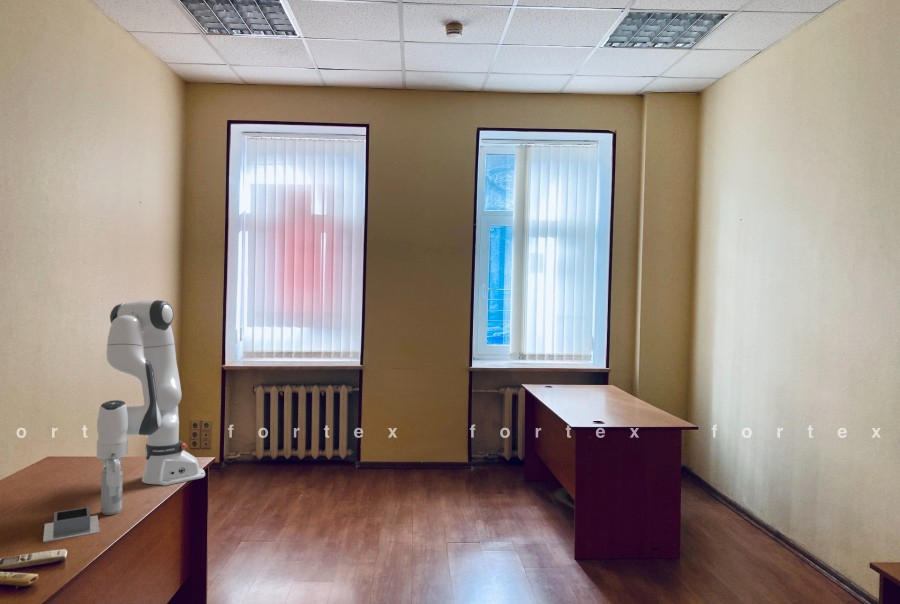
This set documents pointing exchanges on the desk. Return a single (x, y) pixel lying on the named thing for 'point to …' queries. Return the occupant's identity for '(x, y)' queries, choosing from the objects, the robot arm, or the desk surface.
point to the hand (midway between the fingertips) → (111, 492)
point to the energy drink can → (114, 502)
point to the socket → (71, 524)
